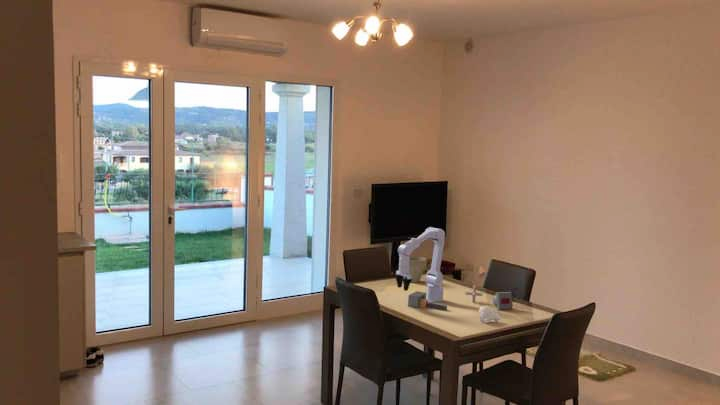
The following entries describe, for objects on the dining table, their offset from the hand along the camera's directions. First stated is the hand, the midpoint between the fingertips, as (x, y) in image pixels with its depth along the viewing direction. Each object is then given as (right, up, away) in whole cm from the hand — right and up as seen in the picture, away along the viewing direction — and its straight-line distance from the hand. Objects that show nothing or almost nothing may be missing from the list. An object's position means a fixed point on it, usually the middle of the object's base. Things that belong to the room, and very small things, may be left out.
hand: (402, 288), depth 348 cm
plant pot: (+12, -5, +66) cm, 67 cm away
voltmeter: (+63, -12, +12) cm, 65 cm away
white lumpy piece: (+45, -15, -23) cm, 53 cm away
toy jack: (+44, -11, +18) cm, 49 cm away
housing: (+9, -10, +4) cm, 14 cm away
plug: (+17, -11, 0) cm, 20 cm away
